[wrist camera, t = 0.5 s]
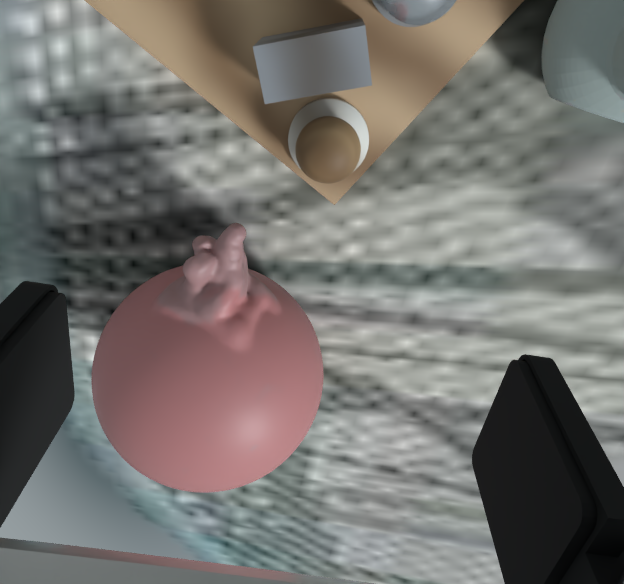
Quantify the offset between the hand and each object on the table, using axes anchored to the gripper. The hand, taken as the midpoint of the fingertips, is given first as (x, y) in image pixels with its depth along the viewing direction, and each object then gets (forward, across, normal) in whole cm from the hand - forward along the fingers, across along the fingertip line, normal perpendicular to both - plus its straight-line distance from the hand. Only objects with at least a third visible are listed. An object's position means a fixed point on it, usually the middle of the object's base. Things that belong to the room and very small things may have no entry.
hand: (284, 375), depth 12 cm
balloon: (+28, +4, +15) cm, 33 cm away
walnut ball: (+26, -1, +2) cm, 27 cm away
